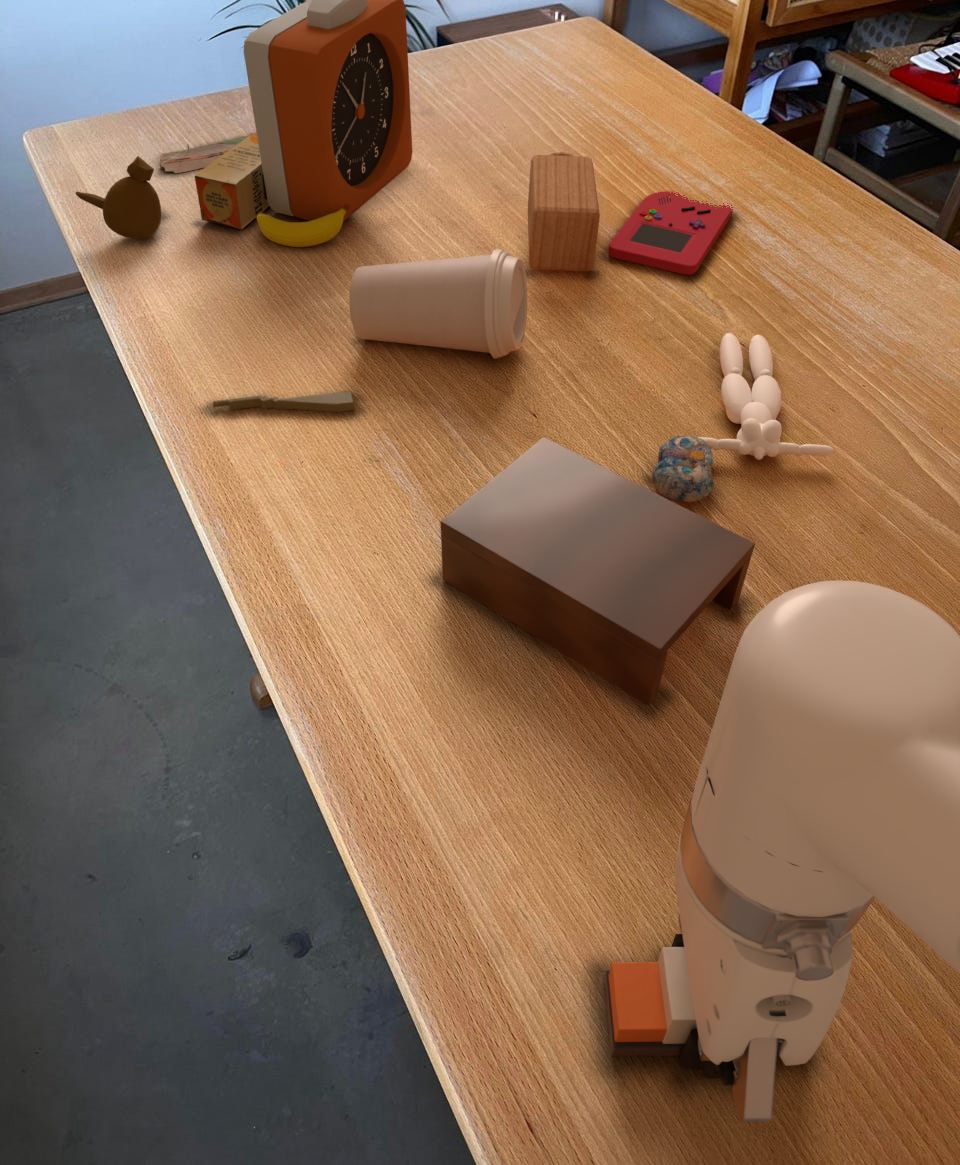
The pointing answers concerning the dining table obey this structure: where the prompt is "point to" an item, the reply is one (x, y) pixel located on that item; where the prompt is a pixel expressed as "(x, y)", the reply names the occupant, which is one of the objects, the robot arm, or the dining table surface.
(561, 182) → the decorative item
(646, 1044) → the tricolour layered block
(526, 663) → the dining table surface
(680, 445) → the decorative stone
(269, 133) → the alarm clock
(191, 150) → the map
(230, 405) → the olive tapered flat bar
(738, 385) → the decorative figure
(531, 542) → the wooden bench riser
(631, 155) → the dining table surface
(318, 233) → the fruit
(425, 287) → the coffee cup
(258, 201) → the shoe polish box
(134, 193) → the figurine
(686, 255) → the handheld gaming console
